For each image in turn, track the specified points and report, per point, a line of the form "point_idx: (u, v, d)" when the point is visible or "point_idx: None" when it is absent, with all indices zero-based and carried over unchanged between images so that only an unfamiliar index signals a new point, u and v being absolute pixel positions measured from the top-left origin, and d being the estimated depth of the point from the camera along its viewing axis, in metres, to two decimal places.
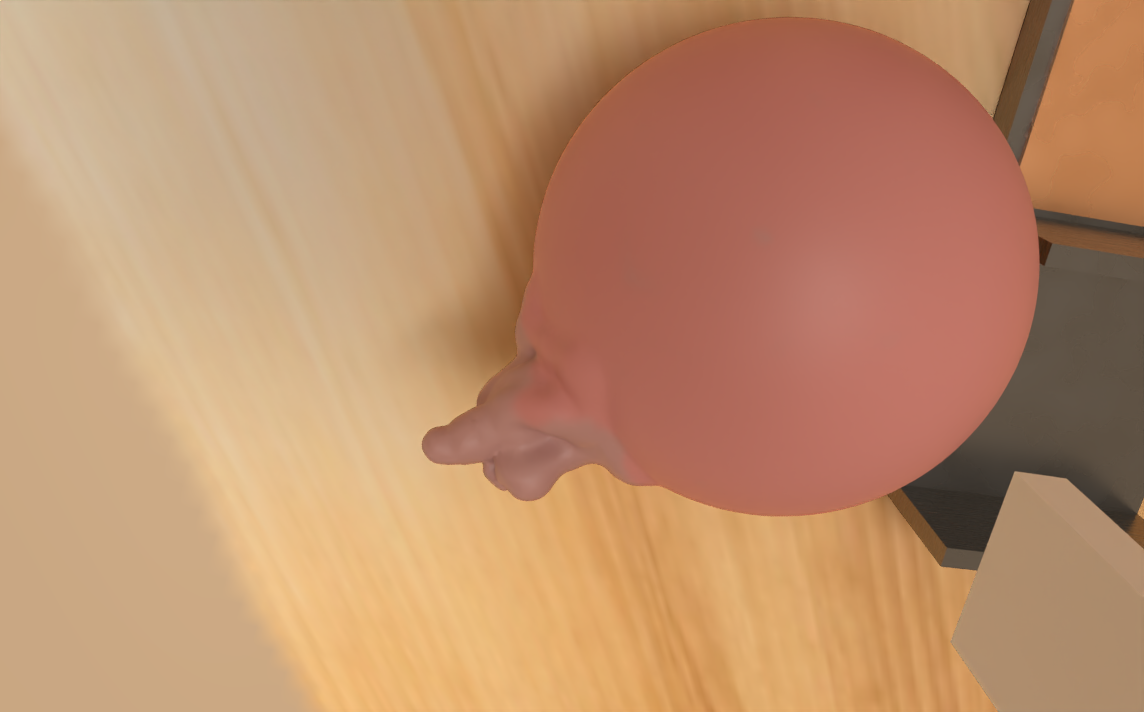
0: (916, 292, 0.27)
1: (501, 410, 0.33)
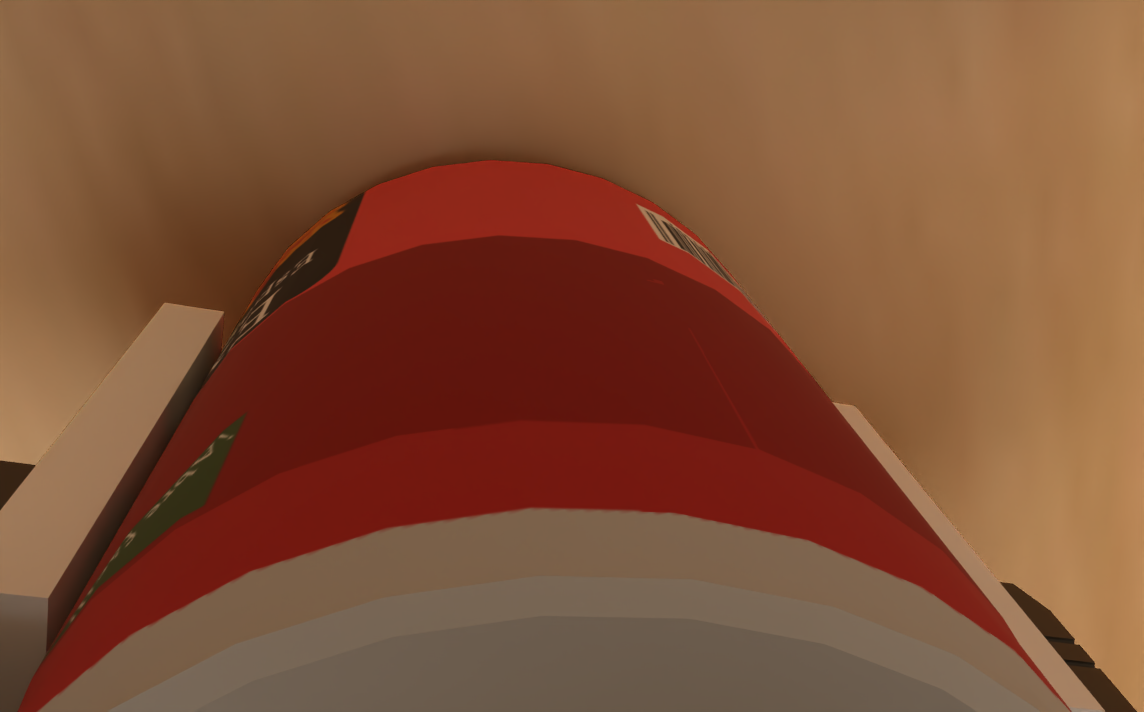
0: None
1: None
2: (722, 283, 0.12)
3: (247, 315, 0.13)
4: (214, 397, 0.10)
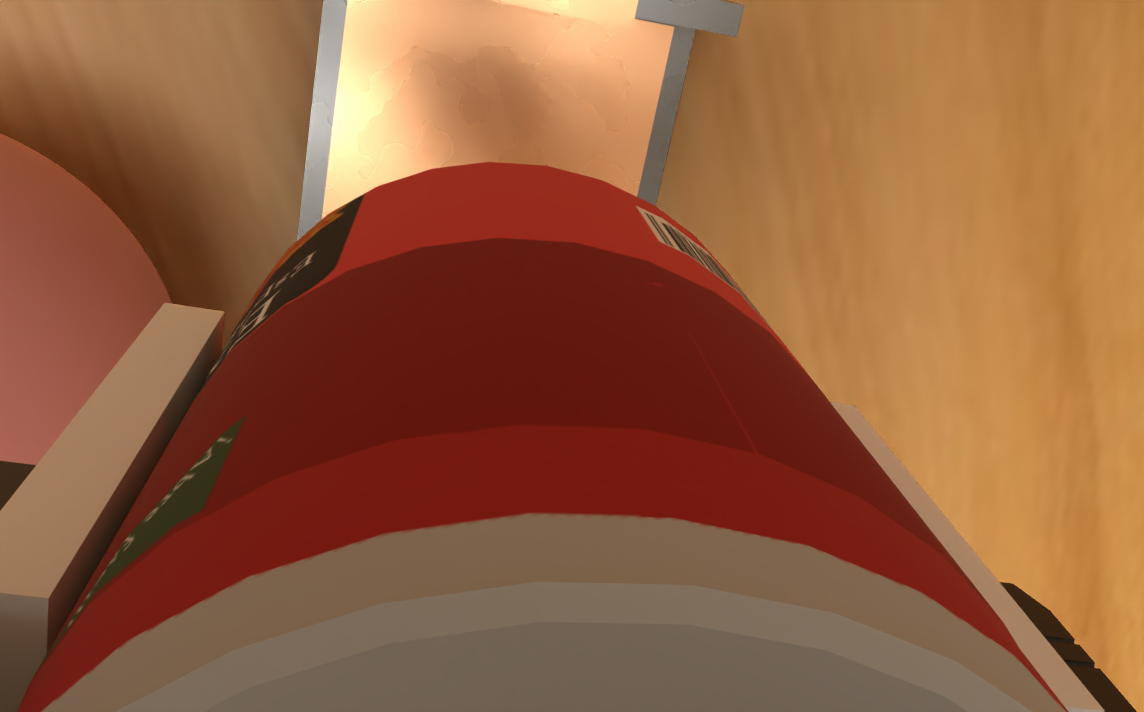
0: None
1: None
2: (722, 285, 0.12)
3: (246, 317, 0.13)
4: (213, 400, 0.10)
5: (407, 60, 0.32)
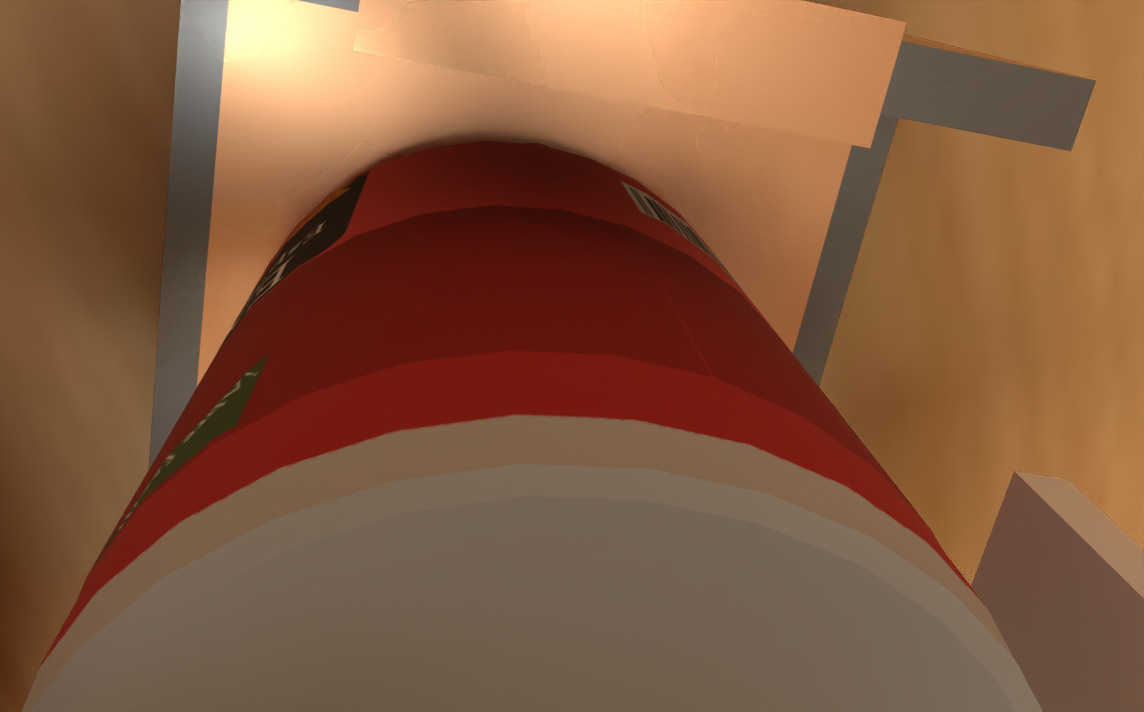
0: None
1: None
2: (697, 251, 0.13)
3: (262, 282, 0.14)
4: (237, 347, 0.11)
5: (346, 170, 0.17)
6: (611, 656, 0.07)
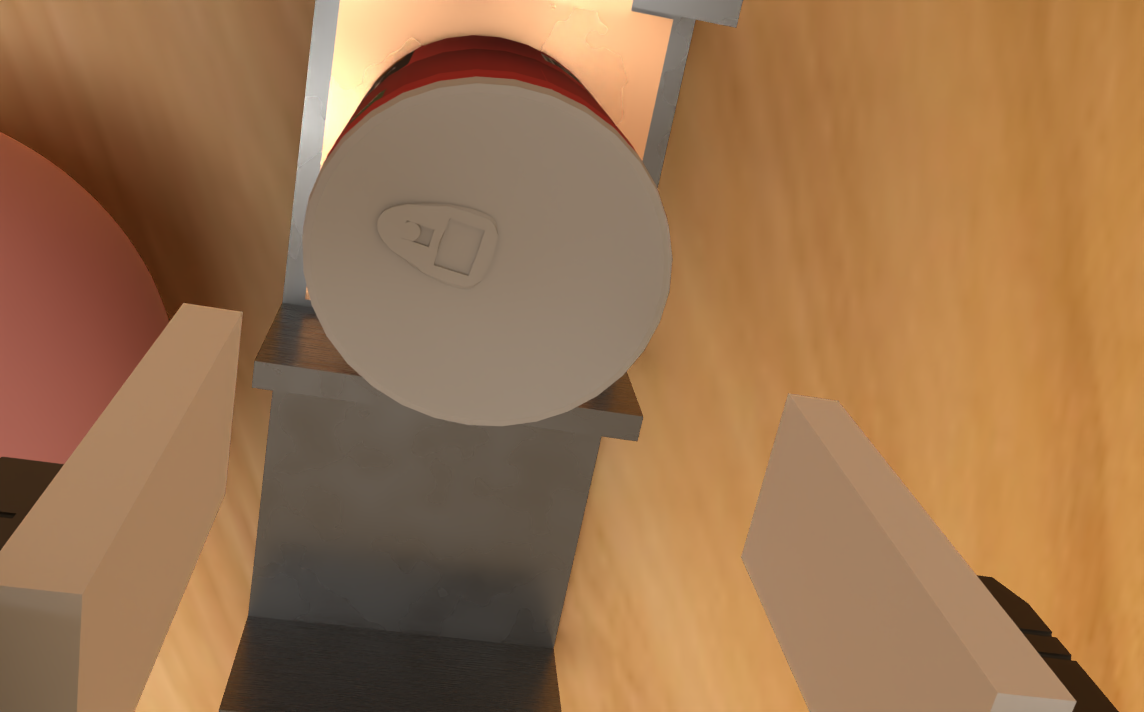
0: None
1: None
2: (571, 77, 0.29)
3: (365, 95, 0.29)
4: (367, 98, 0.26)
5: (401, 53, 0.32)
6: (508, 162, 0.23)
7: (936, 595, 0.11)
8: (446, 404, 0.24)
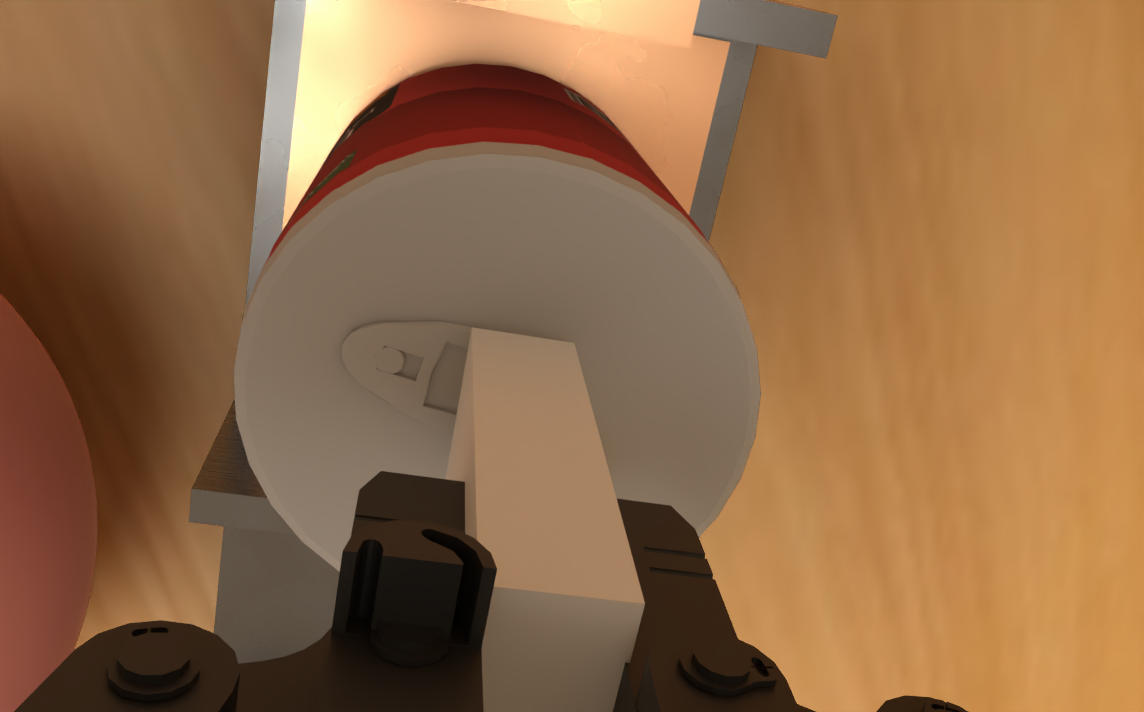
0: None
1: None
2: (605, 122, 0.22)
3: (335, 145, 0.22)
4: (334, 158, 0.19)
5: (384, 86, 0.25)
6: (529, 263, 0.16)
7: (557, 510, 0.11)
8: None
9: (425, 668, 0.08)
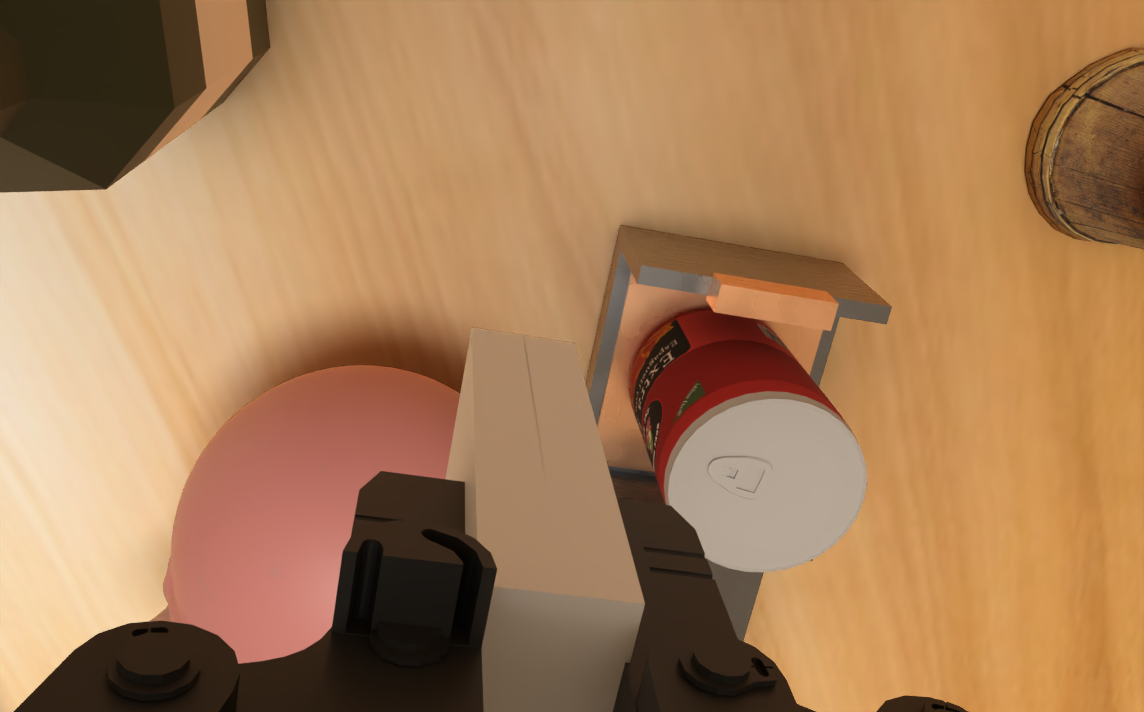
0: None
1: None
2: (784, 348, 0.48)
3: (656, 357, 0.48)
4: (678, 377, 0.45)
5: (664, 316, 0.51)
6: (780, 434, 0.42)
7: (557, 511, 0.11)
8: (736, 561, 0.43)
9: (425, 667, 0.08)
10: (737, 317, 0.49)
